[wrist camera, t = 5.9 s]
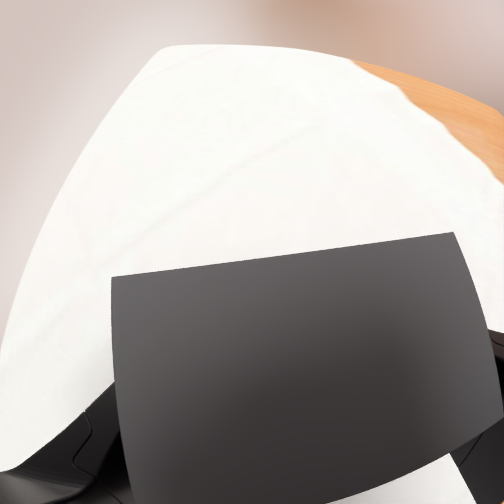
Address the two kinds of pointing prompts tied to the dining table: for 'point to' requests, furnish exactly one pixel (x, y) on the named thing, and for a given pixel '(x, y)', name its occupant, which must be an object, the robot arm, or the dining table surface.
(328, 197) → the dining table surface
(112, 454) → the robot arm
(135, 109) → the dining table surface
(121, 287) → the grey box
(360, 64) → the dining table surface
